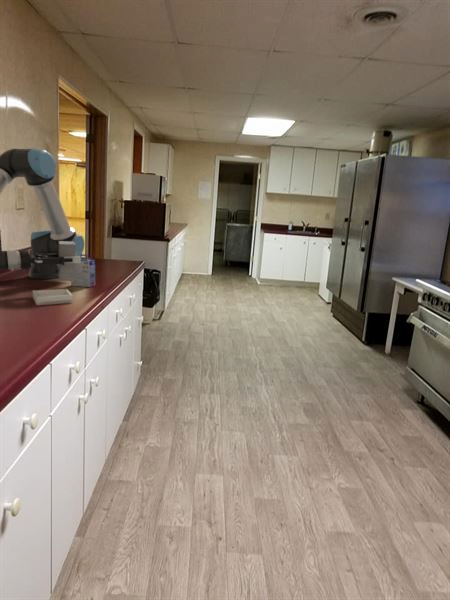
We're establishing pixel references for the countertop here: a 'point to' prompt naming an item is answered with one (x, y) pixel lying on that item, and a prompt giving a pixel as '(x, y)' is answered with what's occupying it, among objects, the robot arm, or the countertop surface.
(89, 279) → the ink cartridge box
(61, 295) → the tray
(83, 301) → the countertop surface
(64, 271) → the skincare box
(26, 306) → the countertop surface
